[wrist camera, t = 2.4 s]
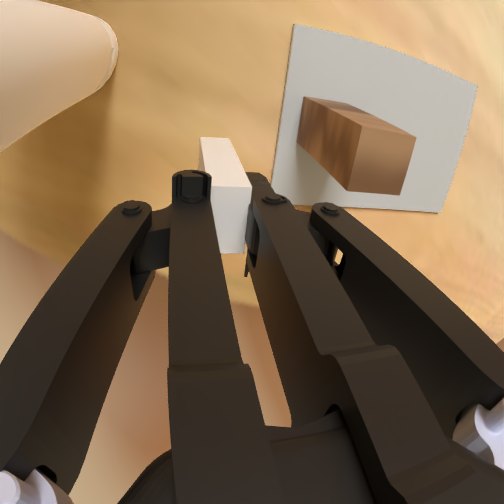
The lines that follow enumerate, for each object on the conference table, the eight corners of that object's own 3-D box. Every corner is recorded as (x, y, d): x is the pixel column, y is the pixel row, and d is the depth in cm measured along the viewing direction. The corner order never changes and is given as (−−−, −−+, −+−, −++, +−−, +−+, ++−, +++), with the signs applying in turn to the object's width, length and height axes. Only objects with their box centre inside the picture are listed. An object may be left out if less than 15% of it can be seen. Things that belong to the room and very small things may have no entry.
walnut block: (303, 96, 26) (362, 126, 18) (347, 103, 27) (416, 137, 19) (296, 141, 29) (346, 191, 20) (338, 146, 30) (399, 195, 21)
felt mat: (293, 24, 23) (294, 23, 22) (475, 85, 28) (477, 86, 27) (267, 202, 33) (268, 204, 33) (438, 211, 38) (440, 212, 38)
